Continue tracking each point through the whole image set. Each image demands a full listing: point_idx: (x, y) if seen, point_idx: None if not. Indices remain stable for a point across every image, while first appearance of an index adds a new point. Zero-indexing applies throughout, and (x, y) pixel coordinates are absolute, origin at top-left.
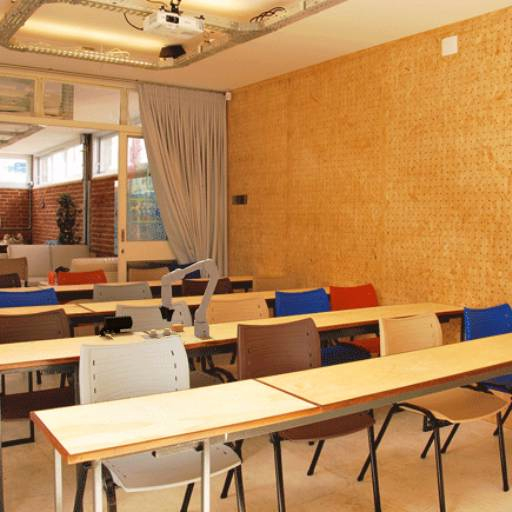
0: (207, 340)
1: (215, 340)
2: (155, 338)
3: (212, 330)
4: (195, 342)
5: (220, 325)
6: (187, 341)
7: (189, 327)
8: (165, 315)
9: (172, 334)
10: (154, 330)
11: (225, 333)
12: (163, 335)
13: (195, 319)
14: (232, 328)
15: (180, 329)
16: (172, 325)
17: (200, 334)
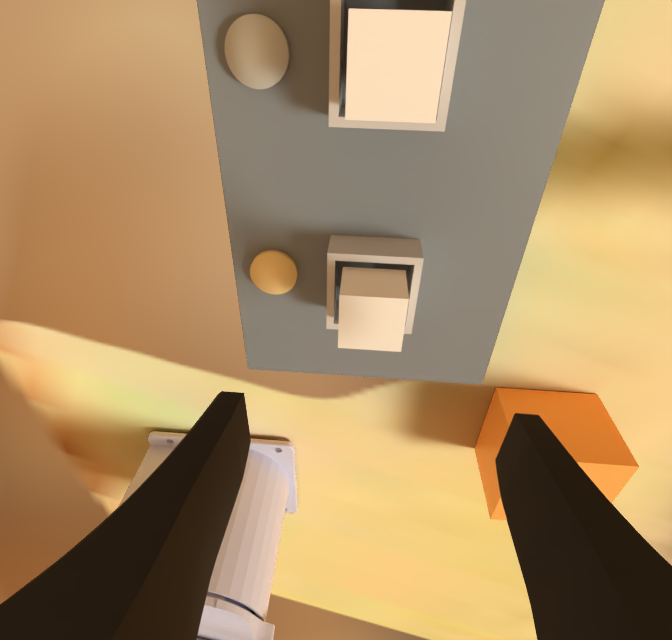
0: (96, 456)
1: (87, 485)
2: (200, 19)
3: (419, 575)
4: (25, 373)
5: (526, 633)
6: (78, 340)
7: None
8: (524, 530)
9: None
10: (347, 82)
11: (290, 578)
12: (364, 227)
13: (245, 625)
14: (405, 631)
15: (487, 461)
16: (587, 457)
17: (137, 477)
